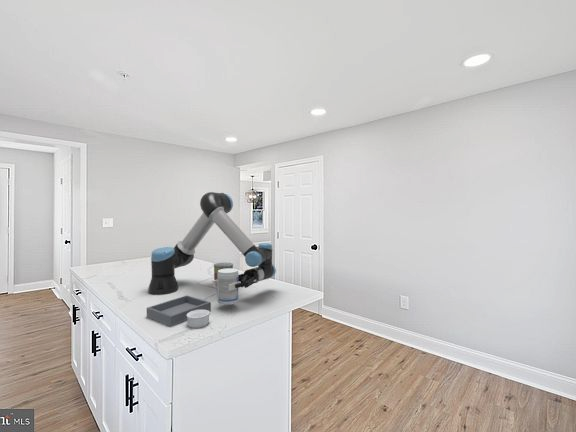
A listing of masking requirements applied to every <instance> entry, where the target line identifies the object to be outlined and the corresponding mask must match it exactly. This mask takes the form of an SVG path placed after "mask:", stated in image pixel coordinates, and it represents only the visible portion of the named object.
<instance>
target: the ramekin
mask: <svg viewBox="0 0 576 432" xmlns="http://www.w3.org/2000/svg"><path fill="white" fill-rule="evenodd" d="M210 314H211V311H208V310H194V311H191V312H189V313H188V314H187V325H188V327H190V328H191V329H192V328H193V329H198V328H202V327H205V326H207V325H208V324H209V323H210Z"/></svg>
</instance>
